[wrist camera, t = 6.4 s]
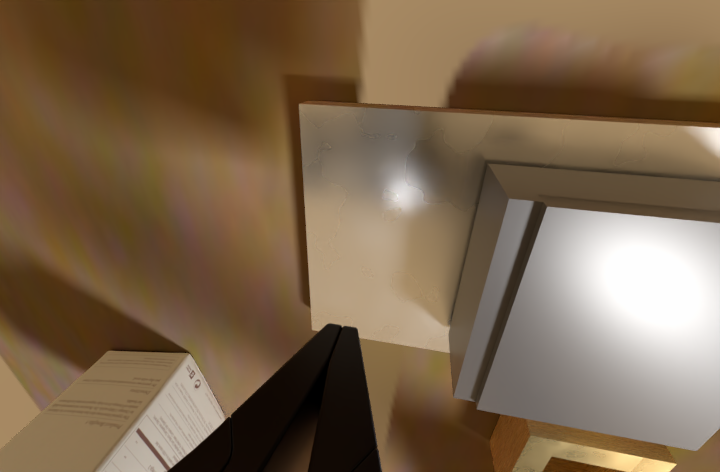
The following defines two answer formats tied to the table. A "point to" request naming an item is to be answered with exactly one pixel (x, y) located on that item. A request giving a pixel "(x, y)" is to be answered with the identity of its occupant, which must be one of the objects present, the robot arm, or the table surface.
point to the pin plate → (444, 197)
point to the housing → (593, 303)
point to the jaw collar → (570, 449)
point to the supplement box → (120, 418)
